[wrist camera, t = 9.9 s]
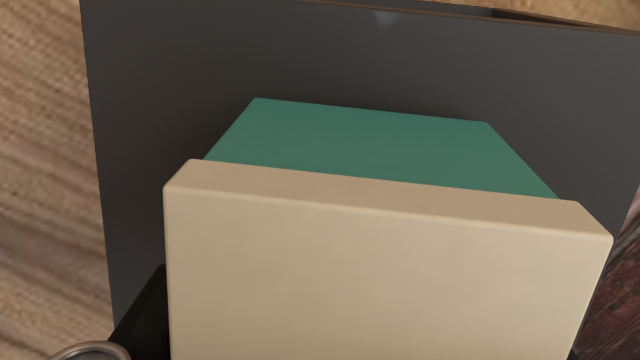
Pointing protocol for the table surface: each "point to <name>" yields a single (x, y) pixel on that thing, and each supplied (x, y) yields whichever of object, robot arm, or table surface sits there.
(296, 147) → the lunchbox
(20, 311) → the table surface
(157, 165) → the shelf rack
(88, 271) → the table surface
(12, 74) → the table surface
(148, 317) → the robot arm
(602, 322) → the hardback book
